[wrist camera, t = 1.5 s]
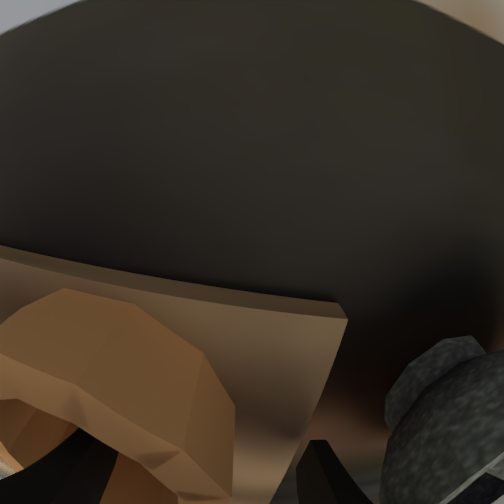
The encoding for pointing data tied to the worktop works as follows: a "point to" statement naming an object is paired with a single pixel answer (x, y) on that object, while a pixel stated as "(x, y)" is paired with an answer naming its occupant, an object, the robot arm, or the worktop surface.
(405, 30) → the worktop surface
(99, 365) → the orange notched ring
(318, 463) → the robot arm
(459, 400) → the mortar and pestle
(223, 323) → the shelf plate
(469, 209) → the worktop surface
